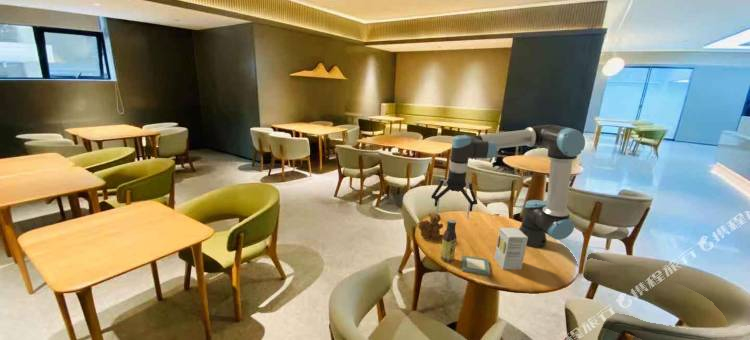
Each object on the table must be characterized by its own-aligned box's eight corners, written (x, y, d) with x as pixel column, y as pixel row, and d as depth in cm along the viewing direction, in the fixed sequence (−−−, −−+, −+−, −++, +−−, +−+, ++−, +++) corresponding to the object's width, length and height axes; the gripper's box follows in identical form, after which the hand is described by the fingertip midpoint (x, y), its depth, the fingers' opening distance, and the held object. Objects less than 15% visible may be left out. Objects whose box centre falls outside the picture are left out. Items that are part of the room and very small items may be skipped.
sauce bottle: (451, 264, 144) (456, 225, 138) (438, 260, 147) (442, 222, 141) (455, 258, 149) (460, 220, 144) (443, 254, 152) (447, 217, 147)
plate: (487, 261, 147) (488, 259, 147) (490, 276, 136) (490, 273, 136) (461, 257, 150) (462, 254, 150) (462, 271, 139) (462, 268, 138)
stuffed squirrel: (446, 238, 168) (449, 216, 164) (424, 243, 162) (427, 220, 158) (435, 230, 176) (437, 209, 173) (414, 234, 170) (416, 213, 167)
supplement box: (493, 258, 150) (499, 227, 146) (511, 258, 151) (517, 227, 146) (502, 270, 141) (508, 237, 137) (522, 269, 142) (528, 237, 137)
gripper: (486, 172, 136) (479, 216, 142) (430, 165, 142) (425, 208, 148) (488, 176, 129) (480, 222, 135) (428, 169, 135) (424, 214, 141)
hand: (451, 215), depth 142 cm, fingers open, 13 cm apart
